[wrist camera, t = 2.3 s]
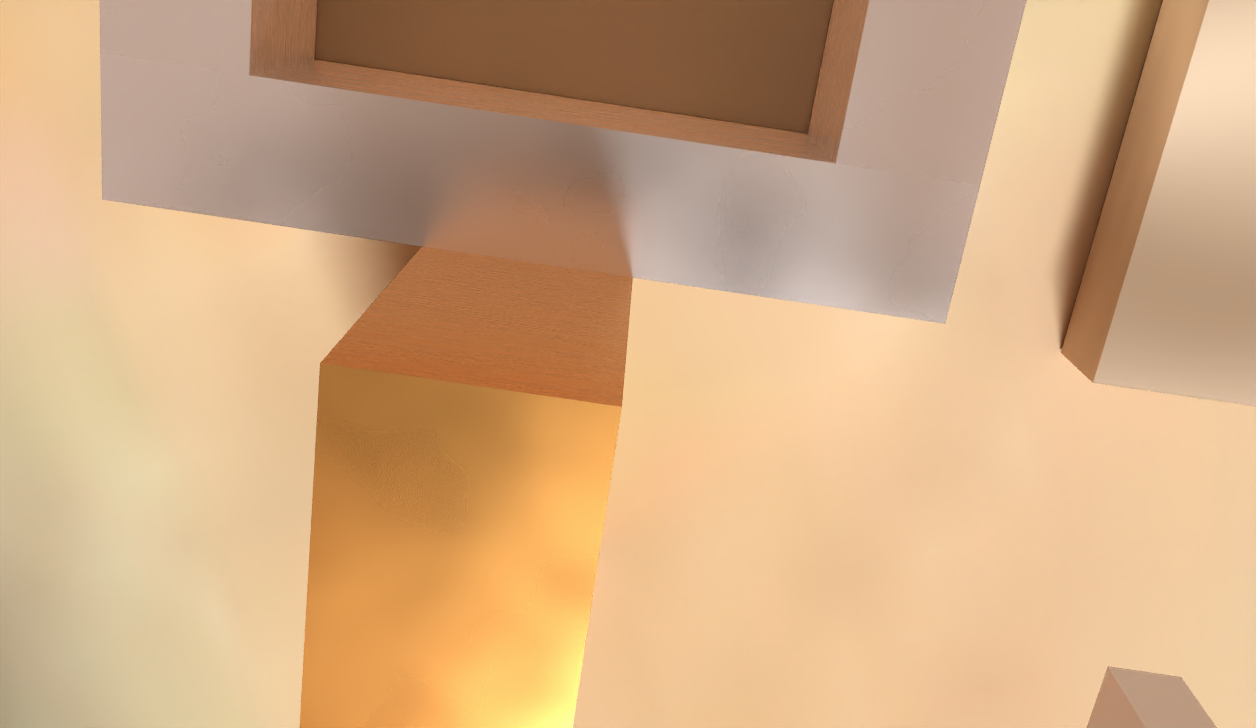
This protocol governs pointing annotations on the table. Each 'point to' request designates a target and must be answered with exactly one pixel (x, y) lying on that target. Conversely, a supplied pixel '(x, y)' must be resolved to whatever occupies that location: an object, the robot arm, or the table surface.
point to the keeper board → (1180, 219)
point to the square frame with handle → (527, 296)
